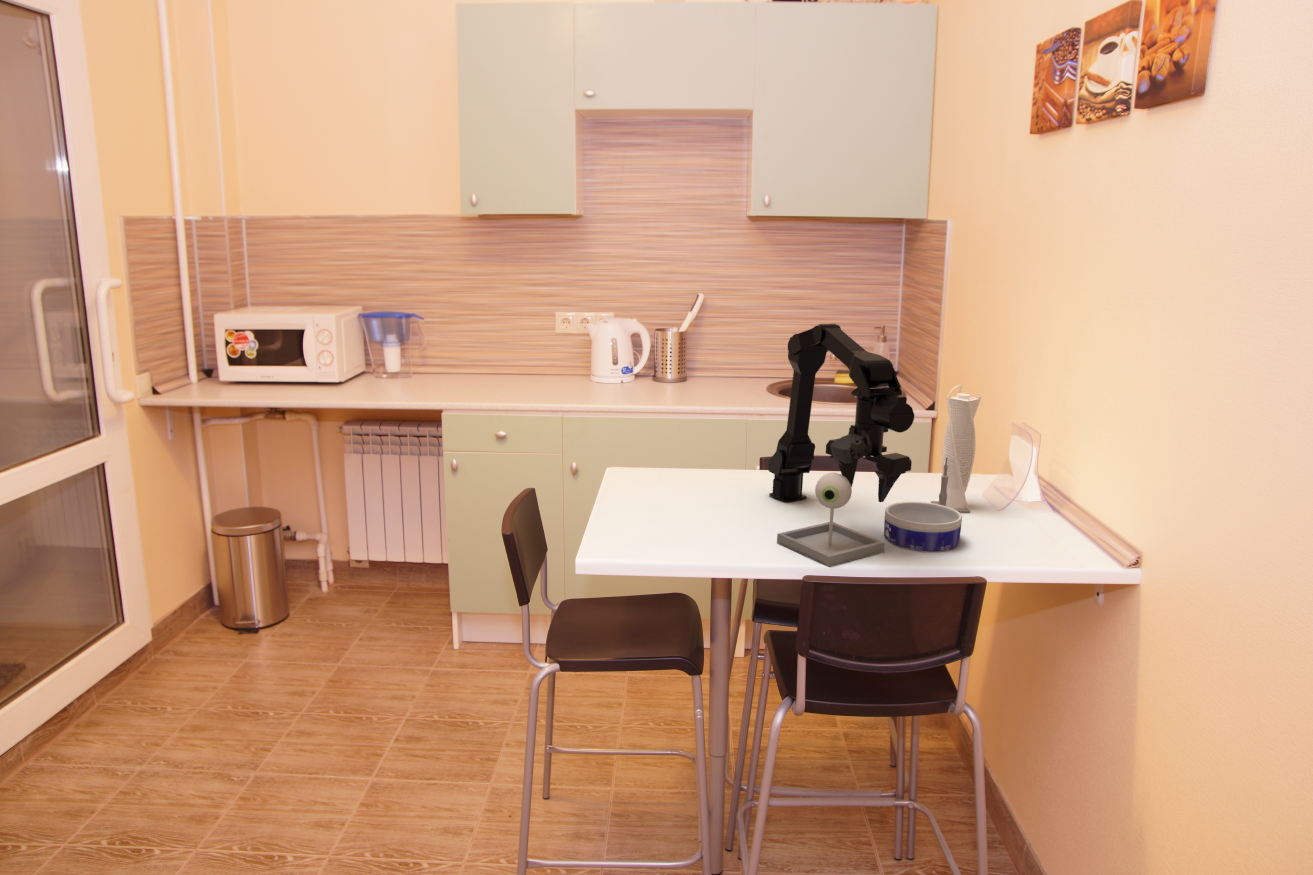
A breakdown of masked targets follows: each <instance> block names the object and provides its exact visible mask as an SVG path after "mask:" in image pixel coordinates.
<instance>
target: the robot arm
mask: <svg viewBox="0 0 1313 875" xmlns="http://www.w3.org/2000/svg"><path fill="white" fill-rule="evenodd" d="M787 351H788V352H787V359H788V361H789V364H790V365H791V367H792V370H793V374H792V383H791V391H790V398H789V408H788V415H787V423H786V430H785V432H784V433H783V434H782V435H781V437H780V438H779V440H778V441H777V446H776V450H775V452H774V454H773V455H772V456H771V457H770V459H769V460H768V462H767V468H768V472H769V473H771V474H773V479H772V492H769V494H768V495H769V497H772V498H774V499H777V500H780V501H782V502H785V503H791V502H796V501H800V500H804V499H807V495H805V494H803V485H804V484H803V482H804V474H810V471H811V468H812V464H813V462H814V460H815V450H816V444H815V443H814V442H813V441H812V439H811V438H810V435H809V428H810V422H811V413H812V405H813V398H814V389H815V384H816V374H817V373H818V372H819V371H820V368H821V367H822V366H823V365H824V363H825V362H826V361H825V360H826V358H827V353H828V352H830V353H831V354H832V355H833V356H834V357H836V358H837V359H838V360H839V361H840V362H841V363H842V364H843V365H844V366H845V367H847V369H848V377H849V378H850V380H852V382H853V383H854V385H855V386H856V388H855V389H853V390H852V391H851V396H853V397H856V402H855V403H856V404H855V405H856V406H855V418H854V424H852V425H850V427H849V428H848V434H846V435H844V436H841V437H840V438H836V439H835V438H834V439H833V438H832V439H830V440H829V439H828V442H827V443H826V444H825V454H827V455H828V456H829V458H830V459H831V460H832V461H834V462H835V463H836V464H837V465H838V468H839V471H840V473H841V475H843V476H844V477H846V478H847V479H848V481H849V482H850V484H851V488H852V487H853V483H854V480H855V476H856V471H857V466H858V461H859V460H860V459H864V460H867V461H870V462H873V463H875V464H876V465H875V466H876V469H877V470H874V473H875V474H876V475H877V477H878V492H877V497H878V498H877V500H878V502H879V503H883V502H885V500H886V498H887V497H888V495H889V493H890V491H891V490H892V488H893V487H894V484H895V483H896V481H898V480H899V478H900V477H901V475H904V474H906V472H911V471H912V462H913V461H912V459H911V457H909V455H904V454H901V453H897V452H893V453H892V452H891V453H887V451H888V450H887V449H888V447H887V446H885V445H884V433H888V432H889V431H893V432H896V433H904V432H906V431H908V430H909V429H910V428H911V427H912V425H913V424H914V421H915V413H914V409H913V407H912V406H911V405H910V404H908V403H907V400H908V398H907V396H905V395H903V391H902V388H901V387H902V385H901V383H900V381H899V380H898V376H897V374H896V370H895V368H894V365H893V363H892V362H891V360H890V359H888V358H886V357H885V356H882V355H881V354H877V353H874V352H870V351H868V350H866V349H864V347H862V346H861V345H860V344H859V343H857V342H856V340H854V339H852V338H851V336H849V335H848V334H847V333H846V332H844V331H843V330H842V328H841V326H840V325H839V324H836V323H820V324H817V325H815V326H813V327H812V328H809V329H807V330H804V331H801V332H800V333H794V334H793V335H792V336H790V338H789V340H788V342H787ZM883 453H887V454H883Z"/></svg>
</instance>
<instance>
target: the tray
mask: <svg viewBox="0 0 1313 875" xmlns="http://www.w3.org/2000/svg"><path fill="white" fill-rule="evenodd" d="M829 523H830V521H827V522H824V523H818V524H816V525H815V524H814V525H810V526H805V527H802V528H801V527H800V528H796V529H791V530H788V531H784V532H779V533H777V534H776V535H777V536H776V544H778V545H781V546H782V547H784V548H787V549H789V550H791V551H793V552H795V553H797V554H800V555H802V556H805V557H806V558H809V559H811V560H813V561H815V562H817V563H819V564H821V565H824V566H826V567H832V566H836V565H841V564H844V563H848V562H852V561H855V560H859V559H864V558H867V557H871V556H874V555H879V554H882V553H885V546H886V545H885V544H886V543H885V541H882V540H879V539H877V538H875V537H872V536H870V535H866V534H864V533H862V532H860V531H857V530H855V529H852V528H849V527H847V526H845V525H843V524H839V523H837V522H834V521H833V529H832V543H831V546H829V545H828V538H829Z"/></svg>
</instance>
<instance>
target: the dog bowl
mask: <svg viewBox="0 0 1313 875" xmlns="http://www.w3.org/2000/svg"><path fill="white" fill-rule="evenodd" d="M962 521H963V516H962V513H959V512H958V511H956V510H954V509H952V508H950V507H947V506H943V505H939V504H933V503H931V502H926V501H925V502H923V501H900V502H895V503H892V504H889V505H888V506H886V507H885V510H884V522H883V524H884V527H883V528H884V529H883V536H884V539H885V540H886V541H887V542H888V543H890V544H892V545H894V546H896V547H899V548H903V549H906V550H911V551H916V552H927V553H928V552H932V553H935V552H936V553H937V552H946V551H951V550H954V549H956V548H957V547H958V546H959V544H960V538H961V531H962Z"/></svg>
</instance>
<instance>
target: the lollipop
mask: <svg viewBox="0 0 1313 875" xmlns="http://www.w3.org/2000/svg"><path fill="white" fill-rule="evenodd" d="M814 491H815V492H814V494H815V497H816V499H817V501H818V502H819V503H820V504H821V505H822V506H824V507H825V508H827V509H830V510H829V522H830V523H829V538H828V545H829V546H831V543H832V529H833V522H834V515H835V514H834V513H835V511H834V510H836V509H840V508H843V507H844V506H846V505H847V504H848V503H849V501H850V499H851V498H852V494H853V490H852V487H851V484H850V482H849V481H848V479H847V478H846V477H844V476H843V475H842V474H840V473H839V472H838V473H837V472H828V473H826V474H823V475H822V476H820V478H818V480H817V482H816V485H815V489H814Z"/></svg>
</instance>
